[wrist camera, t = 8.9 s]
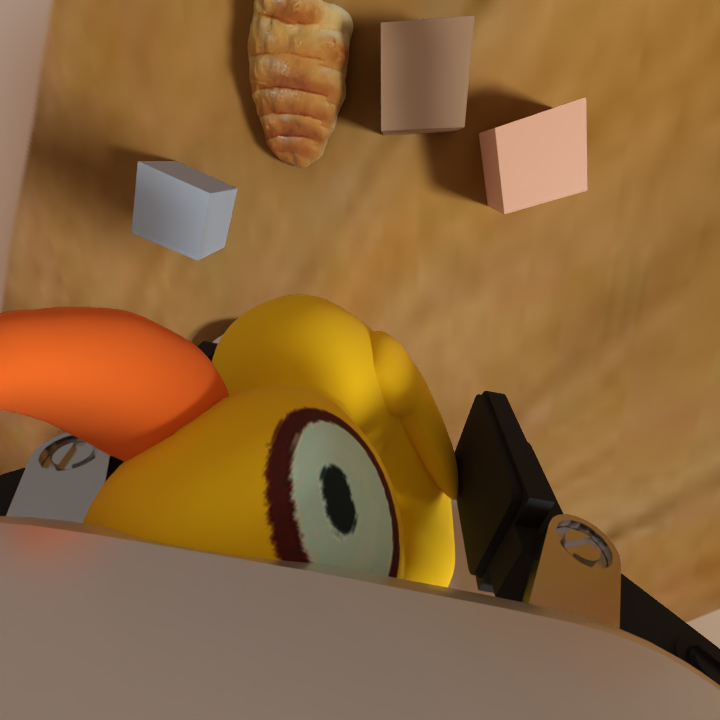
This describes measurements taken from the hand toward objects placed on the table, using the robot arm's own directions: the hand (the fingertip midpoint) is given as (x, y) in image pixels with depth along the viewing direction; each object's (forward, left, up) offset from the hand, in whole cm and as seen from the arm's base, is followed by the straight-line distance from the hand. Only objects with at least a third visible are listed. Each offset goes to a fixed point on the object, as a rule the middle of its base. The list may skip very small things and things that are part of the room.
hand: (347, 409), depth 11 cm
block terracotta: (-9, -8, -22) cm, 25 cm away
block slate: (+15, -1, -22) cm, 27 cm away
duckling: (0, 0, -3) cm, 3 cm away
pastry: (+7, -11, -23) cm, 26 cm away
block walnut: (-1, -11, -22) cm, 25 cm away
